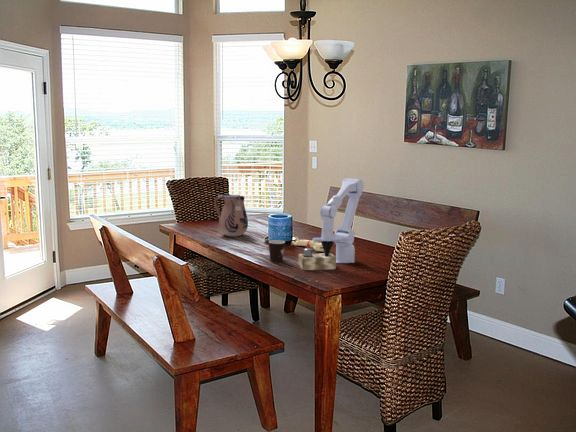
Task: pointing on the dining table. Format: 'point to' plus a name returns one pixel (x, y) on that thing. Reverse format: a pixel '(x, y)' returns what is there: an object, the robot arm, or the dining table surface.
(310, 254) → the peg
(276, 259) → the coffee mug
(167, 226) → the dining table surface
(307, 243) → the cat figure
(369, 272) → the dining table surface
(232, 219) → the ceramic pitcher
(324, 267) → the block
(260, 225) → the dining table surface
